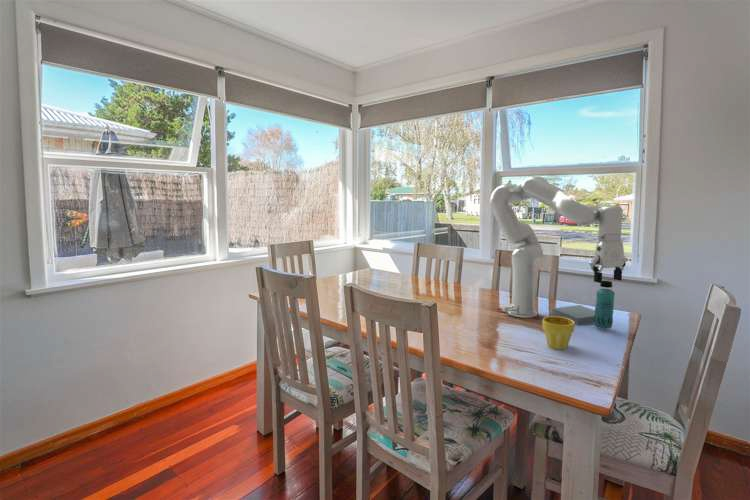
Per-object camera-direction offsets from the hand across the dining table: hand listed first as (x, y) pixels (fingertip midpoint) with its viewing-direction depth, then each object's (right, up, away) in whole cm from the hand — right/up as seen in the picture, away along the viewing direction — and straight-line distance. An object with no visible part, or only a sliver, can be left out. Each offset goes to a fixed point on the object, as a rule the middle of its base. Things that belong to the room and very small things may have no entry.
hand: (607, 281), depth 157 cm
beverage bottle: (0, -20, +3) cm, 20 cm away
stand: (-2, -18, +18) cm, 25 cm away
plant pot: (-25, -23, -12) cm, 36 cm away
